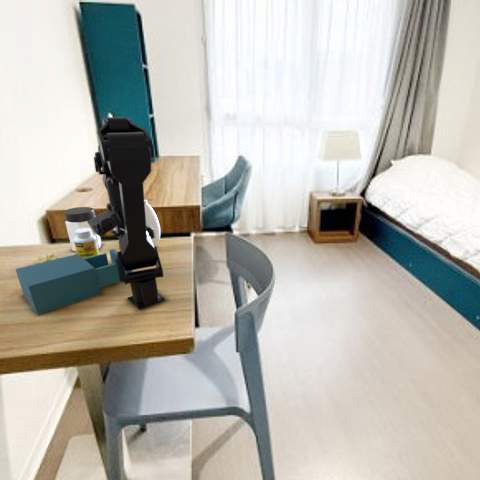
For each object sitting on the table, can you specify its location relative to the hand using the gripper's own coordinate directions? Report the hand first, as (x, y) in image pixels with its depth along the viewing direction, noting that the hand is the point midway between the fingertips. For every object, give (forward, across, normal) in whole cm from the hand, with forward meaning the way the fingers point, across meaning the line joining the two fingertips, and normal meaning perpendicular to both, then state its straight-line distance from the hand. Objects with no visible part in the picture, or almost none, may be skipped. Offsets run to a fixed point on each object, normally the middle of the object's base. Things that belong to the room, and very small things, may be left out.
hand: (132, 257), depth 97 cm
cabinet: (+5, 0, -18) cm, 19 cm away
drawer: (+4, 0, -7) cm, 8 cm away
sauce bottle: (+5, -14, +11) cm, 19 cm away
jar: (+5, -28, -3) cm, 29 cm away
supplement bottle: (+5, -14, -7) cm, 16 cm away
